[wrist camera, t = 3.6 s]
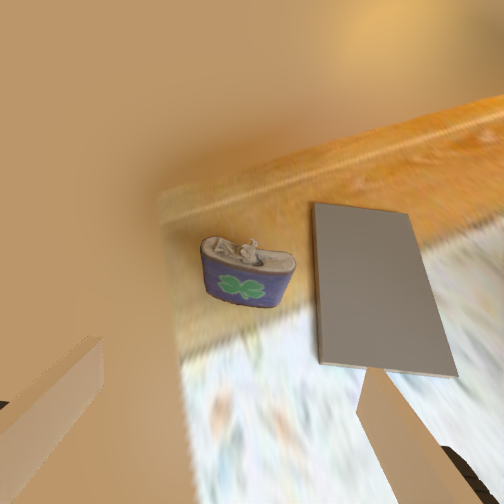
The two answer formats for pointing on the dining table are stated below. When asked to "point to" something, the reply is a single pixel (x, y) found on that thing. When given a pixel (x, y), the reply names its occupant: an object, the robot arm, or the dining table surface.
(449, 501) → the robot arm
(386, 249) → the slate board
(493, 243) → the dining table surface
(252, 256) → the flask
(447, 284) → the dining table surface
